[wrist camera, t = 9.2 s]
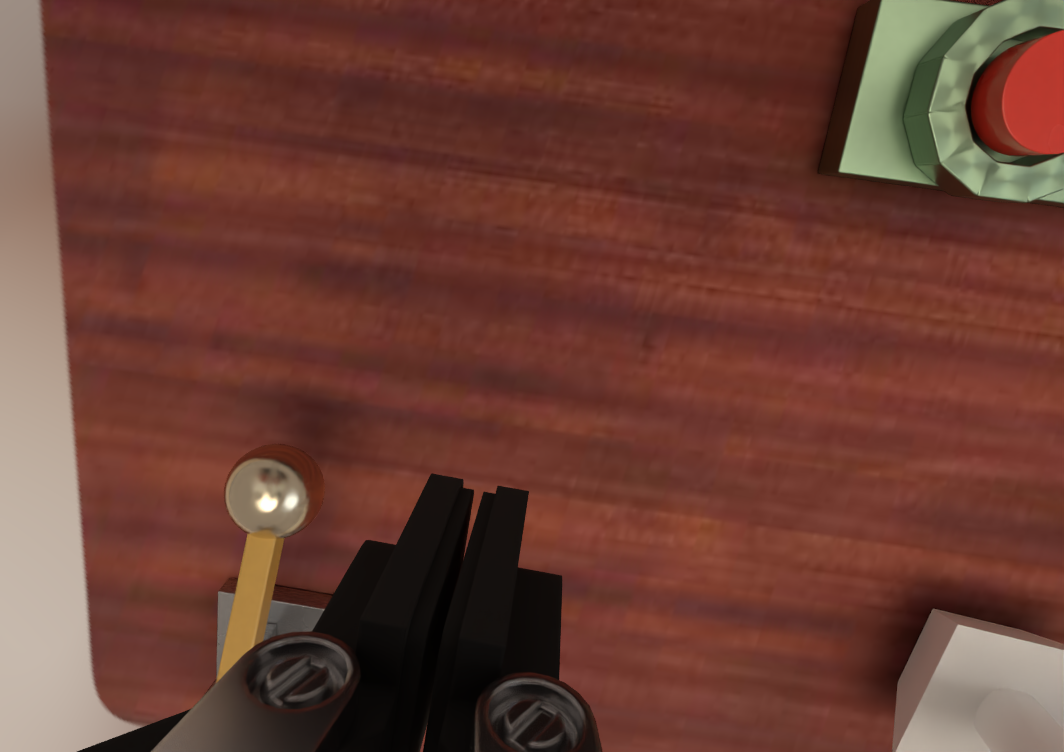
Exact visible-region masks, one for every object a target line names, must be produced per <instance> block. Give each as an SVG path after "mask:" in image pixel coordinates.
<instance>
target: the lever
mask: <svg viewBox="0 0 1064 752" xmlns="http://www.w3.org/2000/svg"><path fill="white" fill-rule="evenodd" d="M324 495H325V483H324V478H323V474H322V472H321V470H320V468H319V466H318V464H317V463H316V462H315V460H314V459H313V458H312V457H311V456H310V455H308V454H307V453H306V452H304V451H302V450H301V449H299V448H296V447H294V446H290V445H286V444H270V445H264V446H261V447H258V448H256V449H254V450H251V451H250V452H248V453H247V454H245V455H244V456H243V457H241V458H240V459H239V460H238V461H237V462H236V464H235V465H234V466H233V468H232V469H231V471H230V472H229V474H228V477H227V479H226V483H225V487H224V502H225V506H226V510H227V512H228V514H229V516H230V518H231V519H232V521H233V522H234V523H235V524H236V525H237V526H238V527H239V528H240V529H241V530H242V531H244V532H245V533H247V534H248V535H247V539H246V544H245V549H244V554H243V558H242V563H241V568H240V572H239V577H238V582H237V587H236V591H235V596H234V601H233V605H232V610H231V615H230V619H229V624H228V629H227V634H226V638H225V643H224V648H223V652H222V657H221V662H220V666H219V671H218V676H217V681H216V683H217V682H218V681H219V680H220V679H221V678H222V676H223V675H224V674H225V673H226V672H227V671H228V670H229V669H230V668H231V667H232V666H233V665H234V664H235V663H236V662H237V661H238V660H239V659H240V658H241V657H242V656H243V655H244V654H245V653H246V652H247V651H249V650H250V649H251V648H252V647H254V646H255V645H256V644H258V643H260V642H262V641H263V639H264V634H265V630H266V625H267V620H268V615H269V610H270V605H271V600H272V595H273V591H274V586H275V581H276V576H277V571H278V566H279V561H280V557H281V552H282V547H283V542H284V538H286V537H290V536H292V535H294V534H296V533H298V532H300V531H302V530H303V529H304V528H306V527H307V526H308V525H309V524H310V523H311V522H312V521H313V520H314V518H315V517H316V516H317V514H318V512H319V511H320V509H321V506H322V504H323V500H324Z"/></svg>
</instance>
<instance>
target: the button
mask: <svg viewBox="0 0 1064 752" xmlns="http://www.w3.org/2000/svg"><path fill="white" fill-rule="evenodd" d="M971 117H972V122H973V126H974V129H975V131H976V133H977V135H978V136H979V138H980V139H981V140H982V141H983V142H984V143H985V145H987V146H988V147H989V148H991V149H992V150H994V151H996V152H998V153H1001V154H1004V155H1008V156H1031V155H1048V154H1060V153H1064V30H1061V31H1057V32H1054V33H1051V34H1048V35H1044V36H1041V37H1038V38H1035V39H1032V40H1029V41H1025V42H1022V43H1019V44H1017V45H1014V46H1012V47H1010V48H1008V49H1007V50H1005V51H1004V52H1002V53H1001V54H1000V55H998V56H997V57H996V58H995V59H994V60H993V61H992V62H991V63H990V64H989V65H988V66H987V68H986V69H985V70H984V72H983V73H982V75H981V76H980V78H979V80H978V82H977V84H976V86H975V89H974V92H973V96H972V102H971Z"/></svg>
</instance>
